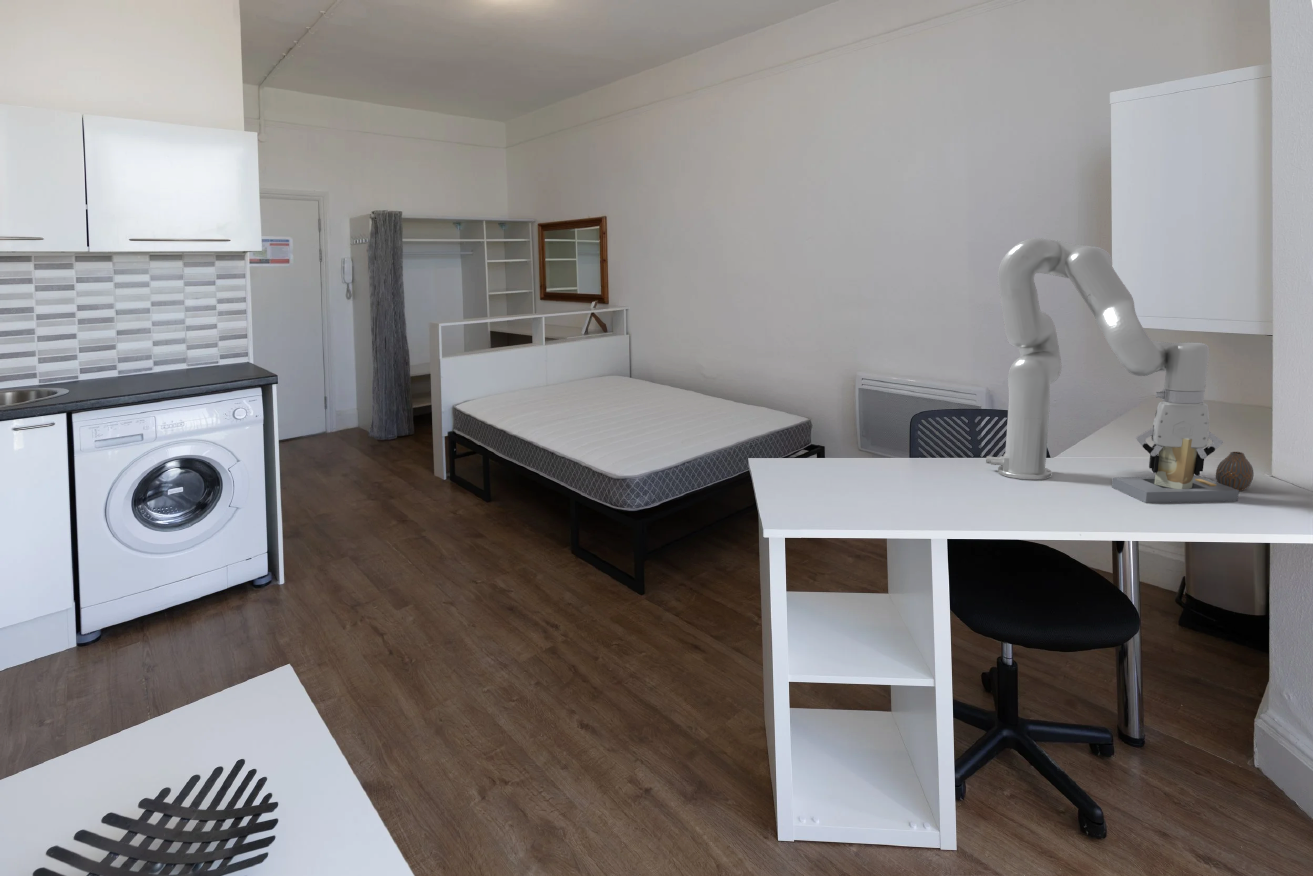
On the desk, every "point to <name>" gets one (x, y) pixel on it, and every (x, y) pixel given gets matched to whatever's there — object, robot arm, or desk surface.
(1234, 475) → the vase
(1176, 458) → the skincare box
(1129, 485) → the socket dock
